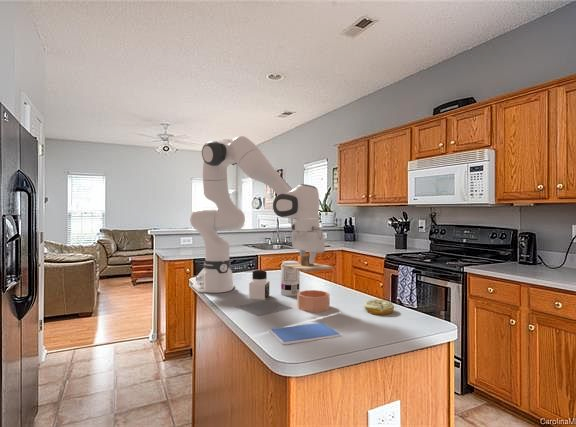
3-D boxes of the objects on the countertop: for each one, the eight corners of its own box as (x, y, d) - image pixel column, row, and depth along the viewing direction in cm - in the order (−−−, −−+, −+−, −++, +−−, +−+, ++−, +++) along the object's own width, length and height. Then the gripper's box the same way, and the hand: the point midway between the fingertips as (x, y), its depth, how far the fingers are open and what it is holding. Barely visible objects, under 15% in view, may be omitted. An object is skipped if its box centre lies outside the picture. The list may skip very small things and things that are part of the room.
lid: (281, 266, 135) (281, 255, 135) (309, 264, 144) (310, 253, 144) (304, 271, 124) (304, 259, 124) (333, 268, 132) (333, 257, 132)
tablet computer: (322, 325, 117) (322, 321, 117) (342, 338, 106) (342, 333, 106) (268, 332, 110) (268, 328, 110) (283, 347, 98) (283, 342, 98)
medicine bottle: (265, 301, 146) (265, 272, 146) (248, 300, 148) (249, 271, 148) (269, 296, 153) (269, 269, 153) (253, 296, 155) (254, 268, 155)
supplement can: (277, 295, 156) (277, 261, 156) (289, 292, 162) (290, 259, 162) (290, 298, 151) (290, 263, 151) (303, 295, 157) (303, 261, 157)
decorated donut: (359, 312, 132) (359, 302, 132) (373, 306, 140) (373, 296, 140) (384, 317, 125) (384, 307, 125) (398, 311, 133) (398, 301, 133)
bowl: (291, 308, 136) (291, 293, 136) (313, 302, 144) (313, 288, 144) (312, 315, 127) (313, 299, 127) (335, 309, 134) (335, 294, 134)
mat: (234, 307, 136) (234, 306, 136) (267, 301, 146) (267, 299, 146) (258, 317, 124) (258, 316, 124) (292, 309, 134) (292, 308, 134)
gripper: (329, 227, 126) (329, 265, 126) (302, 226, 144) (302, 259, 144) (313, 227, 123) (313, 266, 123) (289, 226, 142) (288, 260, 142)
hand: (307, 262), depth 134 cm, fingers closed on lid, 4 cm apart
